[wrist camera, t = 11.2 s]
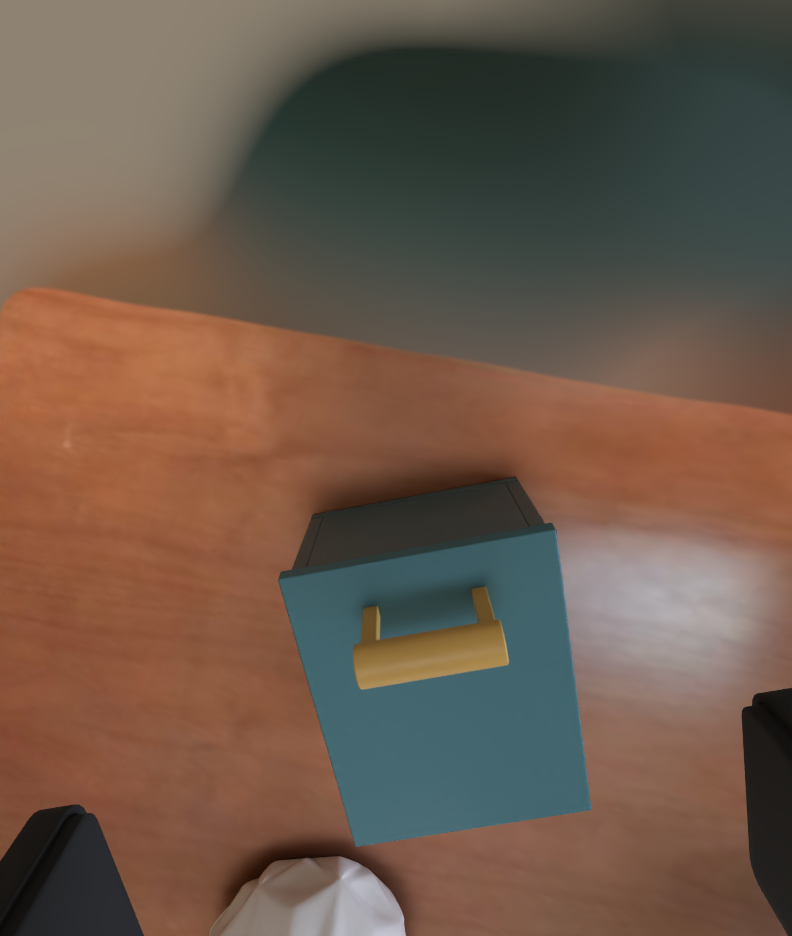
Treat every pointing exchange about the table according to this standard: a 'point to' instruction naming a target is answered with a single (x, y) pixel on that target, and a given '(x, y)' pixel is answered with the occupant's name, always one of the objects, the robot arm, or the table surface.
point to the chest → (416, 522)
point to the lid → (444, 683)
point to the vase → (312, 902)
